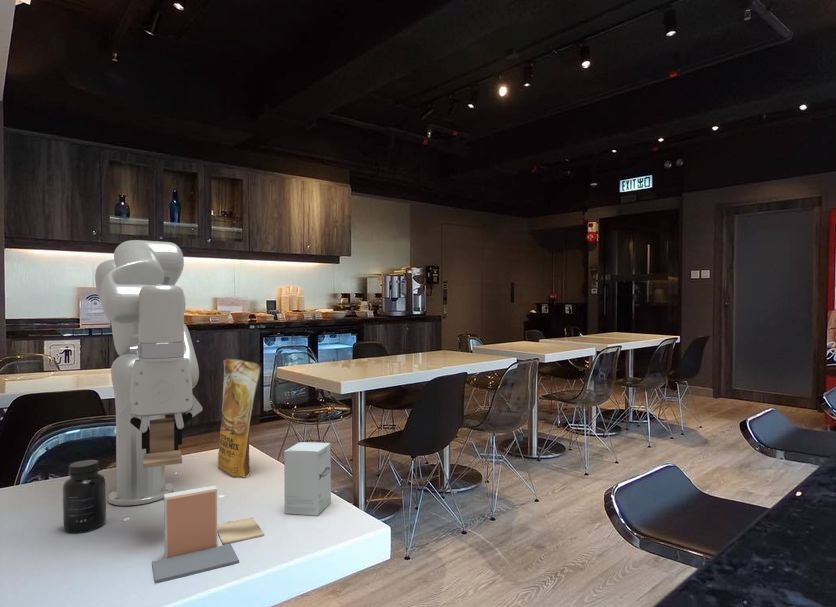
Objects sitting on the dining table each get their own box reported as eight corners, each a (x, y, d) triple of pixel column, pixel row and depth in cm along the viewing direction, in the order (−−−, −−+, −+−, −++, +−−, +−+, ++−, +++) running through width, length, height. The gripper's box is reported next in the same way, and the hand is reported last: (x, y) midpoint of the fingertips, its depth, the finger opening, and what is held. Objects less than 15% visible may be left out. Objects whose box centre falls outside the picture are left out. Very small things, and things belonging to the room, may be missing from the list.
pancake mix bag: (236, 459, 143) (235, 357, 144) (264, 475, 128) (263, 361, 129) (211, 464, 139) (210, 359, 139) (236, 481, 124) (235, 363, 125)
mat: (152, 564, 83) (152, 561, 83) (230, 546, 90) (230, 543, 90) (155, 583, 77) (155, 580, 77) (239, 562, 83) (239, 560, 83)
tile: (164, 554, 87) (164, 494, 87) (215, 543, 91) (215, 485, 91) (165, 560, 85) (165, 498, 85) (217, 548, 89) (217, 489, 89)
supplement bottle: (67, 523, 101) (67, 460, 101) (108, 517, 103) (108, 456, 104) (59, 537, 94) (58, 470, 95) (102, 530, 97) (102, 465, 97)
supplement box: (318, 516, 102) (317, 451, 102) (283, 514, 104) (282, 450, 104) (332, 502, 109) (331, 442, 110) (299, 500, 111) (298, 441, 111)
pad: (214, 526, 98) (214, 525, 98) (252, 518, 101) (252, 517, 101) (223, 544, 90) (223, 543, 90) (264, 535, 94) (264, 533, 94)
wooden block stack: (143, 452, 97) (143, 420, 97) (179, 448, 100) (179, 417, 100) (143, 468, 88) (143, 432, 88) (182, 463, 91) (181, 428, 91)
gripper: (107, 355, 89) (108, 462, 89) (212, 351, 97) (212, 450, 97) (110, 352, 96) (111, 451, 96) (208, 348, 104) (208, 440, 104)
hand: (162, 449), depth 97 cm, fingers closed on wooden block stack, 4 cm apart
